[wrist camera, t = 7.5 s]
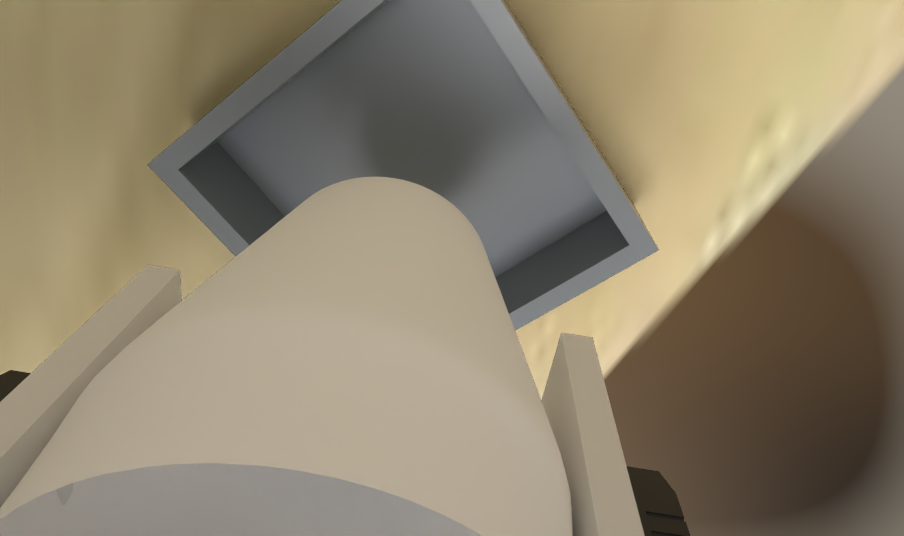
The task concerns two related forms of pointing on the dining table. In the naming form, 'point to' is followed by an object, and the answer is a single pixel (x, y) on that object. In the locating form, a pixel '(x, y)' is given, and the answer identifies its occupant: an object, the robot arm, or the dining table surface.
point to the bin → (419, 143)
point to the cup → (316, 394)
